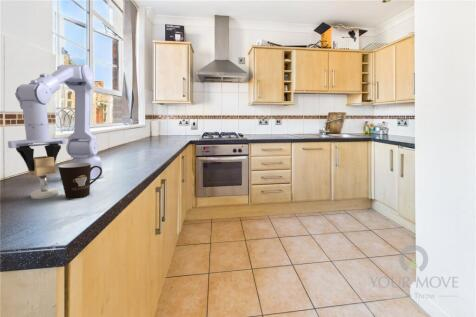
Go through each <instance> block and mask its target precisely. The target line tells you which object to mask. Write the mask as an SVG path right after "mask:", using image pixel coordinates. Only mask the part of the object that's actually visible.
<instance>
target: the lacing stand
mask: <svg viewBox="0 0 476 317" xmlns="http://www.w3.org/2000/svg"><path fill="white" fill-rule="evenodd" d="M58 195H59V189H58V188H56V187H51V188H49V187H48V191H46V192H41V188H40V189H36V190H33V191H30V199H32V200H43V199H50V198H54V197H57V196H58Z"/></svg>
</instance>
